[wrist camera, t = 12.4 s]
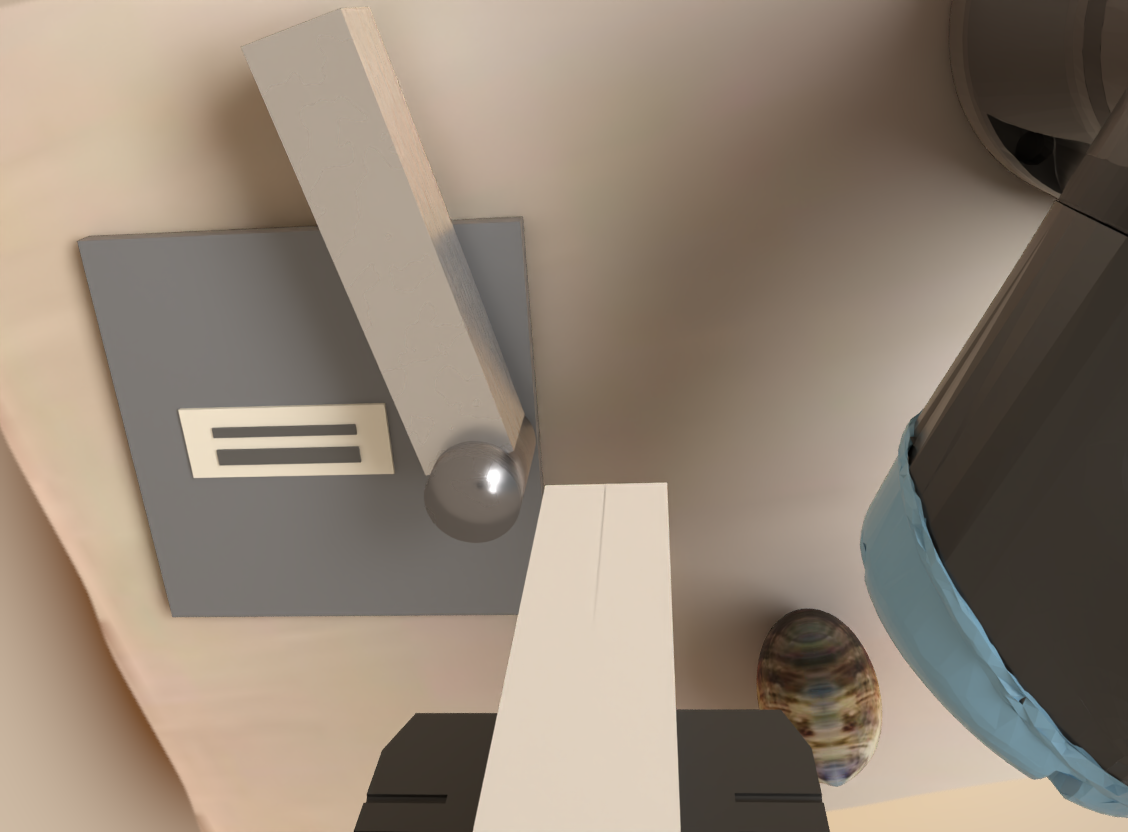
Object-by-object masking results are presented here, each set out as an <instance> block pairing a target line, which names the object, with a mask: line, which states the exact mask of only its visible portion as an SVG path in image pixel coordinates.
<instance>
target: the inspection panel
mask: <svg viewBox="0 0 1128 832" xmlns="http://www.w3.org/2000/svg"><path fill="white" fill-rule="evenodd" d="M451 222H452V224H453V227H454V230H455V232H456V235H457V237H458V240H459V243H460V245H461V248H462V251H463V253H464V256H465V258H466V261H467V264H468V266H469V269H470V271H471V274H472V277H473V279H474V282H475V285H476V287H477V290H478V292H479V295H480V298H481V300H482V303H483V306H484V308H485V311H486V313H487V316H488V319H489V321H490V324H491V327H492V329H493V332H494V334H495V337H496V340H497V342H498V345H499V347H500V350H501V353H502V355H503V358H504V361H505V363H506V366H507V368H508V371H509V374H510V376H511V379H512V382H513V384H514V387H515V389H516V392H517V395H518V397H519V400H520V402H521V405H522V408H523V410H524V413H525V414H524V415H525V416H526V417H527V418H528V420H529V421H530V423H531V425H532V427H533V429H534V433H535V438H536V445H535V451H534V455H533V459H532V463H531V467H530V471H529V475H528V480H527V484H526V488H525V492H524V496H523V500H522V504H521V508H520V512H519V516H518V518H517V520H516V522H515V524H514V525H513V526H512V528H511V529H510V530H509V531H508V532H506V533H505V534H504V535H502V536H501V537H499V538H497V539H495V540H492V541H488V542H483V543H469V542H463V541H460V540H457V539H454V538H452V537H450V536H448V535H447V534H445V533H444V532H442V531H441V530H440V529H439V528H438V527H437V526H436V525H435V524H434V523H433V521H432V520H431V519H430V517H429V515H428V513H427V510H426V508H425V503H424V490H425V485H426V483H427V480H428V478H429V476H430V475H427V476H426V475H425V473H424V470H423V468H422V466H421V463H420V461H419V459H418V457H417V454H416V452H415V450H414V447H413V445H412V443H411V440H410V438H409V436H408V433H407V431H406V429H405V426H404V424H403V422H402V419H401V417H400V415H399V413H398V410H397V408H396V406H395V403H394V401H393V399H392V396H391V394H390V392H389V389H388V387H387V385H386V382H385V380H384V378H383V376H382V373H381V371H380V369H379V366H378V364H377V362H376V359H375V357H374V355H373V352H372V350H371V348H370V345H369V343H368V341H367V338H366V336H365V334H364V332H363V329H362V327H361V325H360V322H359V320H358V318H357V315H356V313H355V311H354V308H353V306H352V304H351V301H350V299H349V297H348V295H347V292H346V290H345V288H344V285H343V283H342V281H341V278H340V276H339V274H338V271H337V269H336V267H335V264H334V262H333V260H332V257H331V255H330V253H329V251H328V248H327V246H326V244H325V241H324V239H323V237H322V234H321V232H320V230H319V227H318V226H305V227H283V228H260V229H238V230H215V231H193V232H171V233H148V234H126V235H103V236H88V237H86V238H83V239H81V240H79V241H77V242H78V246H79V250H80V254H81V258H82V262H83V266H84V270H85V274H86V278H87V282H88V286H89V289H90V293H91V297H92V301H93V305H94V309H95V313H96V317H97V321H98V325H99V329H100V333H101V337H102V341H103V345H104V349H105V353H106V357H107V361H108V364H109V368H110V372H111V376H112V380H113V384H114V388H115V392H116V396H117V400H118V404H119V408H120V412H121V416H122V420H123V424H124V428H125V432H126V436H127V439H128V443H129V447H130V451H131V455H132V459H133V463H134V467H135V471H136V475H137V479H138V483H139V487H140V491H141V495H142V499H143V503H144V507H145V511H146V515H147V518H148V522H149V526H150V530H151V534H152V538H153V542H154V546H155V550H156V554H157V558H158V562H159V566H160V570H161V574H162V578H163V582H164V586H165V590H166V593H167V597H168V601H169V605H170V609H171V613H172V617H258V616H405V615H518V613H519V608H520V604H521V599H522V594H523V589H524V585H525V580H526V575H527V570H528V565H529V561H530V556H531V551H532V546H533V542H534V537H535V532H536V527H537V522H538V518H539V513H540V508H541V503H542V499H543V494H544V487H543V474H542V461H541V448H540V435H539V422H538V408H537V395H536V382H535V369H534V356H533V343H532V330H531V317H530V303H529V290H528V277H527V264H526V251H525V238H524V225H523V217H507V218H484V219H462V220H451Z"/></svg>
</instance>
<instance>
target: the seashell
mask: <svg viewBox="0 0 1128 832" xmlns="http://www.w3.org/2000/svg"><path fill="white" fill-rule="evenodd" d="M757 697H758V704H759V710H782V711H783V713H784V714H785V715H786V716H787V718H788V719H789V720H790V721H791V723H792V724H793V725H794V726H795V728H796V729H797V730H798V731H799V733H800V734H801V735H802V736H803V738H804V739H805V740H806V741H807V743H808V744H809V745H810V746H811V748H812V752H813V756H814V761H815V765H816V770H817V775H818V779H819V783H824V784H828V785H831V786H840V785H843V784H844V783H846V782H847V781H849V780H850V779H851V778H853V777H854V776H856V775H857V774H858V773H859V772H860V771H861V770H862V769H863V768H864V767H865V766H866V765H867V763H868V762H869V761H870V759H871V757H872V756H873V754H874V752H875V750H876V747H877V745H878V742H879V738H880V733H881V726H882V703H881V695H880V690H879V685H878V681H877V678H876V674H875V671H874V668H873V666H872V663H871V661H870V659H869V657H868V655H867V653H866V651H865V649H864V647H863V646H862V644H861V643H860V641H859V640H858V638H857V637H856V636H855V634H854V633H853V632H852V631H851V630H850V629H849V628H848V627H847V626H846V625H845V624H844V623H843V622H841V621H840V620H839V619H838V618H836V617H834V616H833V615H831V614H829V613H826V612H824V611H821V610H816V609H800V610H796V611H793V612H791V613H789V614H787V615H785V616H784V617H783V618H781V619H780V620H779V621H778V622H777V623H776V624H775V625H774V626H773V628H772V629H771V630H770V632H769V634H768V635H767V637H766V639H765V641H764V644H763V647H762V650H761V653H760V657H759V662H758V669H757Z"/></svg>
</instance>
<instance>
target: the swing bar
mask: <svg viewBox="0 0 1128 832" xmlns="http://www.w3.org/2000/svg"><path fill="white" fill-rule="evenodd" d="M241 49H242V51H243V54H244V56H245V58H246V61H247V63H248V65H249V68H250V70H251V72H252V75H253V77H254V79H255V82H256V84H257V86H258V88H259V91H260V93H261V95H262V98H263V100H264V102H265V105H266V107H267V109H268V112H269V114H270V116H271V119H272V121H273V123H274V126H275V128H276V130H277V132H278V135H279V137H280V139H281V142H282V144H283V146H284V149H285V151H286V153H287V156H288V158H289V160H290V163H291V165H292V167H293V170H294V172H295V174H296V176H297V179H298V181H299V183H300V186H301V188H302V190H303V193H304V195H305V197H306V200H307V202H308V204H309V207H310V209H311V211H312V213H313V216H314V218H315V220H316V223H317V225H318V227H319V230H320V232H321V234H322V237H323V239H324V241H325V244H326V246H327V248H328V251H329V253H330V255H331V257H332V260H333V262H334V264H335V267H336V269H337V271H338V274H339V276H340V278H341V281H342V283H343V285H344V288H345V290H346V292H347V295H348V297H349V299H350V301H351V304H352V306H353V308H354V311H355V313H356V315H357V318H358V320H359V322H360V325H361V327H362V329H363V332H364V334H365V336H366V338H367V341H368V343H369V345H370V348H371V350H372V352H373V355H374V357H375V359H376V362H377V364H378V366H379V369H380V371H381V373H382V376H383V378H384V380H385V382H386V385H387V387H388V389H389V392H390V394H391V396H392V399H393V401H394V403H395V406H396V408H397V410H398V413H399V415H400V417H401V419H402V422H403V424H404V426H405V429H406V431H407V433H408V436H409V438H410V440H411V443H412V445H413V447H414V450H415V452H416V454H417V457H418V459H419V461H420V463H421V466H422V468H423V470H424V473H425V475H426V476H427V475H430V476H429V478H428V480H427V483H426V485H425V490H424V503H425V508H426V510H427V513H428V515H429V517H430V519H431V520H432V521H433V523H434V524H435V525H436V526H437V527H438V528H439V529H440V530H441V531H442V532H444V533H445V534H447V535H448V536H450V537H452V538H454V539H457V540H460V541H463V542H469V543H483V542H488V541H492V540H495V539H497V538H499V537H501V536H502V535H504V534H505V533H506V532H508V531H509V530H510V529H511V528H512V526H513V525H514V524H515V522H516V520H517V518H518V516H519V512H520V508H521V504H522V500H523V496H524V492H525V488H526V484H527V480H528V475H529V471H530V467H531V463H532V459H533V455H534V451H535V445H536V438H535V433H534V429H533V427H532V425H531V423H530V421H529V420H528V418H527V417H526V416H525V415H524V414H525V413H524V410H523V408H522V405H521V402H520V400H519V397H518V395H517V392H516V389H515V387H514V384H513V382H512V379H511V376H510V374H509V371H508V368H507V366H506V363H505V361H504V358H503V355H502V353H501V350H500V347H499V345H498V342H497V340H496V337H495V334H494V332H493V329H492V327H491V324H490V321H489V319H488V316H487V313H486V311H485V308H484V306H483V303H482V300H481V298H480V295H479V292H478V290H477V287H476V285H475V282H474V279H473V277H472V274H471V271H470V269H469V266H468V264H467V261H466V258H465V256H464V253H463V251H462V248H461V245H460V243H459V240H458V237H457V235H456V232H455V230H454V227H453V224H452V222H451V219H450V216H449V214H448V211H447V209H446V206H445V203H444V201H443V198H442V196H441V193H440V190H439V188H438V185H437V182H436V180H435V177H434V175H433V172H432V169H431V167H430V164H429V161H428V159H427V156H426V154H425V151H424V148H423V146H422V143H421V141H420V138H419V135H418V133H417V130H416V127H415V125H414V122H413V120H412V117H411V114H410V112H409V109H408V106H407V104H406V101H405V99H404V96H403V93H402V91H401V88H400V86H399V83H398V80H397V78H396V75H395V72H394V70H393V67H392V65H391V62H390V59H389V57H388V54H387V51H386V49H385V46H384V44H383V41H382V38H381V36H380V33H379V30H378V28H377V25H376V23H375V20H374V17H373V15H372V12H371V10H370V7H355V8H340V9H337V10H335V11H332V12H329V13H327V14H324V15H322V16H319V17H316V18H314V19H311V20H309V21H306V22H304V23H301V24H298V25H296V26H293V27H291V28H288V29H286V30H283V31H280V32H278V33H275V34H273V35H270V36H267V37H265V38H262V39H260V40H257V41H255V42H252V43H249V44H247V45H244V46H242V47H241Z"/></svg>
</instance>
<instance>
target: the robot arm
mask: <svg viewBox="0 0 1128 832" xmlns="http://www.w3.org/2000/svg"><path fill="white" fill-rule="evenodd" d="M949 52H950V62H951V69H952V74H953V80H954V84H955V87H956V91H957V95H958V97H959V100H960V103H961V106H962V108H963V111H964V113H965V115H966V117H967V119H968V121H969V123H970V125H971V127H972V128H973V130H974V132H975V133H976V135H977V136H978V138H979V139H980V141H981V142H982V143H983V145H984V146H985V147H986V148H987V150H988V151H989V152H990V153H991V154H992V155H993V156H994V157H995V158H996V159H997V160H998V161H999V162H1000V163H1001V164H1002V165H1003V166H1004V167H1006V168H1007V169H1008V170H1009V171H1011V172H1012V173H1013V174H1015V175H1016V176H1017V177H1019V178H1020V179H1022V180H1024V181H1025V182H1027V183H1029V184H1030V185H1032V186H1034V187H1036V188H1038V189H1040V190H1042V191H1044V192H1046V193H1049V194H1051V195H1053V196H1055V197H1057V198H1058V200H1059V201H1057V200H1056V201H1055V202H1054V204H1053V205H1052V207H1051V209H1050V210H1049V212H1048V214H1047V215H1046V217H1045V218H1044V220H1043V222H1042V223H1041V225H1040V226H1039V228H1038V230H1037V231H1036V233H1035V234H1034V236H1033V238H1032V239H1031V241H1030V243H1029V244H1028V246H1027V247H1026V249H1025V251H1024V252H1023V254H1022V255H1021V257H1020V259H1019V260H1018V262H1017V264H1016V265H1015V267H1014V268H1013V270H1012V272H1011V273H1010V275H1009V276H1008V278H1007V279H1006V281H1005V283H1004V284H1003V286H1002V287H1001V289H1000V290H999V292H998V294H997V295H996V297H995V298H994V300H993V301H992V303H991V304H990V306H989V308H988V309H987V311H986V312H985V314H984V315H983V317H982V319H981V320H980V322H979V323H978V325H977V326H976V328H975V329H974V331H973V333H972V334H971V336H970V337H969V339H968V340H967V342H966V344H965V345H964V347H963V348H962V350H961V351H960V353H959V355H958V356H957V358H956V359H955V361H954V362H953V364H952V365H951V367H950V369H949V370H948V372H947V373H946V375H945V376H944V378H943V380H942V381H941V383H940V384H939V386H938V387H937V389H936V390H935V392H934V394H933V395H932V397H931V398H930V400H929V401H928V403H927V405H926V406H925V408H924V409H923V410H922V411H921V412H920V413H919V414H917V415H916V416H915V417H913V418H912V419H911V420H910V422H909V423H908V425H907V426H906V428H905V430H904V432H903V434H902V438H901V441H900V445H899V450H898V456H897V458H896V460H895V462H894V464H893V465H892V467H891V469H890V471H889V473H888V474H887V476H886V478H885V480H884V482H883V483H882V485H881V487H880V489H879V491H878V492H877V494H876V496H875V498H874V500H873V501H872V503H871V505H870V507H869V509H868V511H867V513H866V516H865V519H864V522H863V526H862V530H861V540H860V549H861V555H862V560H863V564H864V568H865V582H866V586H867V590H868V593H869V595H870V598H871V600H872V602H873V605H874V607H875V609H876V612H877V614H878V616H879V618H880V620H881V622H882V624H883V626H884V627H885V629H886V631H887V633H888V634H889V636H890V638H891V639H892V641H893V642H894V644H895V646H896V647H897V649H898V650H899V652H900V653H901V655H902V656H903V657H904V659H905V660H906V662H907V663H908V664H909V665H910V667H911V668H912V669H913V671H914V672H915V673H916V674H917V676H918V677H919V678H920V679H921V681H922V682H923V683H924V684H925V685H926V687H927V688H928V689H929V690H930V691H931V692H932V693H933V695H934V696H935V697H936V698H937V699H938V700H939V701H940V702H941V704H942V705H943V706H944V707H945V708H946V709H947V710H948V711H949V712H950V713H951V714H952V715H953V716H954V717H955V718H956V719H957V720H958V721H959V722H960V723H961V724H962V725H963V726H964V727H965V728H966V729H967V730H969V731H970V732H971V733H972V734H973V735H974V736H975V737H976V738H977V739H979V740H980V741H981V742H982V743H983V744H984V745H986V746H987V747H988V748H989V749H990V750H992V751H993V752H994V753H995V754H997V755H998V756H999V757H1001V758H1002V759H1003V760H1005V761H1006V762H1007V763H1009V764H1010V765H1012V766H1013V767H1015V768H1016V769H1017V770H1019V771H1020V772H1022V773H1023V774H1025V775H1026V776H1028V777H1029V778H1031V779H1042V778H1045V777H1047V778H1048V779H1049V780H1050V781H1051V782H1052V783H1053V785H1054V786H1055V787H1056V788H1057V789H1058V791H1059V792H1060V794H1061V795H1062V796H1063V797H1064V798H1065V799H1067V800H1069V801H1071V802H1073V803H1076V804H1077V805H1080V806H1082V807H1084V808H1087V809H1090V810H1092V811H1095V812H1098V813H1101V814H1105V815H1109V816H1114V817H1126V818H1128V0H952V6H951V14H950V26H949ZM354 832H830V830H829V826H828V821H827V816H826V812H825V807H824V803H822V793H821V789H820V784H819V779H818V775H817V770H816V765H815V761H814V756H813V752H812V748H811V746H810V745H809V744H808V743H807V741H806V740H805V739H804V738H803V736H802V735H801V734H800V733H799V731H798V730H797V729H796V728H795V726H794V725H793V724H792V723H791V721H790V720H789V719H788V718H787V716H786V715H785V714H784V713H783V711H782V710H676V697H675V671H674V646H673V620H672V594H671V568H670V542H669V516H668V490H667V483H624V484H581V485H545V489H544V494H543V499H542V503H541V508H540V513H539V518H538V522H537V527H536V532H535V537H534V542H533V546H532V551H531V556H530V561H529V565H528V570H527V575H526V580H525V585H524V589H523V594H522V599H521V604H520V608H519V613H518V618H517V623H516V628H515V632H514V637H513V642H512V647H511V651H510V656H509V661H508V666H507V671H506V675H505V680H504V685H503V690H502V694H501V699H500V704H499V709H498V713H416V714H415V715H414V716H413V717H412V718H411V719H410V720H409V721H408V723H407V724H406V725H405V726H404V727H403V728H402V729H401V730H400V731H399V732H398V734H397V735H396V736H395V737H394V738H393V739H392V740H391V741H390V742H389V743H388V745H387V746H386V747H385V748H384V749H383V750H382V752H381V755H380V758H379V761H378V764H377V767H376V769H375V772H374V775H373V778H372V781H371V784H370V786H369V789H368V792H367V801H366V803H364V804H363V806H362V809H361V812H360V815H359V818H358V821H357V823H356V826H355V829H354Z"/></svg>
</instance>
